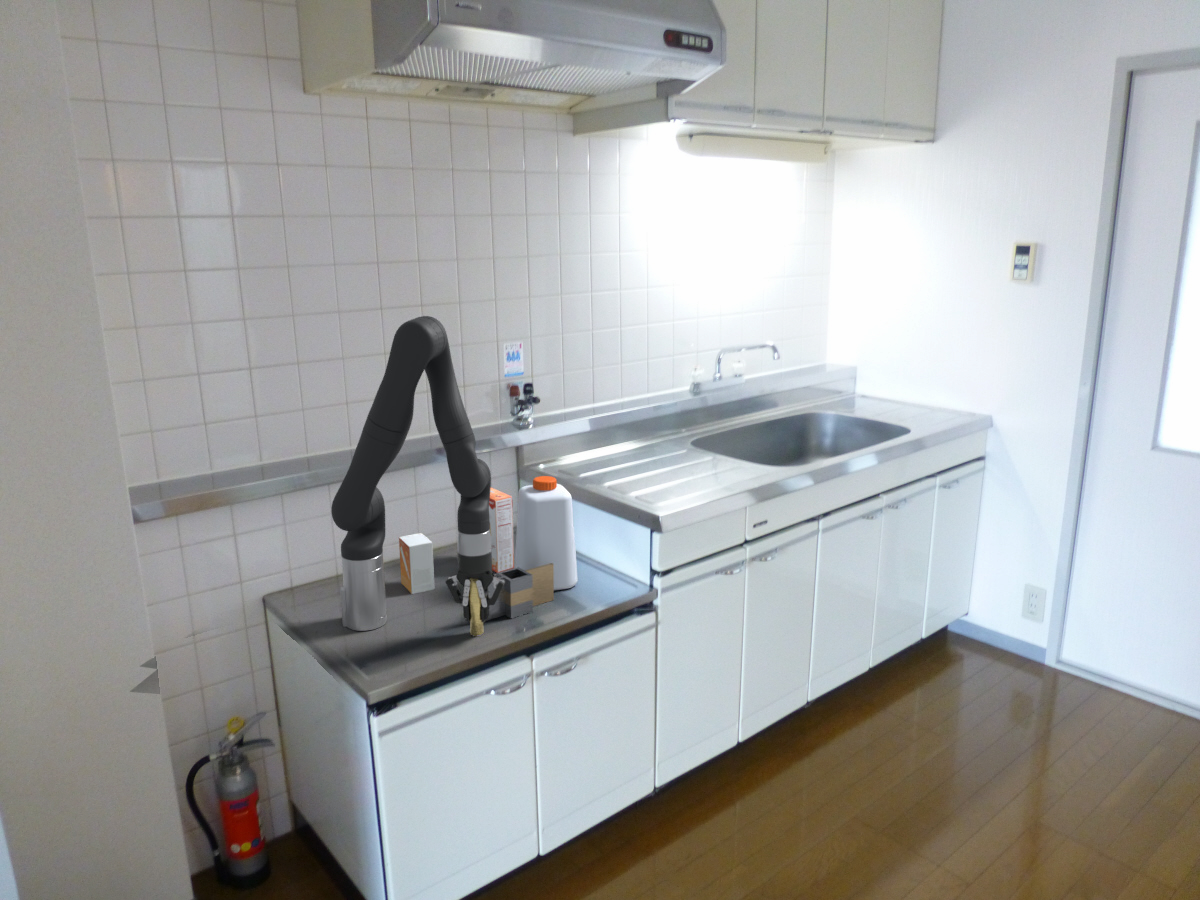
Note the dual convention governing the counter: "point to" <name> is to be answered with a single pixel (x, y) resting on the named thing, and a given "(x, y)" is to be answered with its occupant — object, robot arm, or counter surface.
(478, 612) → the hinge pin
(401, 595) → the counter surface
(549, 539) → the plastic bottle
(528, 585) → the hinge
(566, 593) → the counter surface
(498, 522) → the cracker box
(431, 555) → the small box
